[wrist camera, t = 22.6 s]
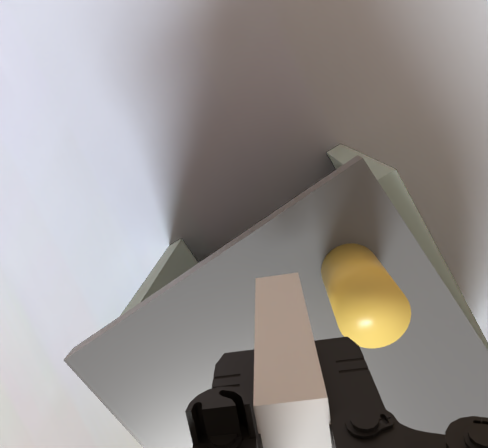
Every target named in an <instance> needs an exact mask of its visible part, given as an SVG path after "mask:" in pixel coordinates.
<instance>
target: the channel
mask: <svg viewBox="0 0 488 448" xmlns="http://www.w3.org/2000/svg"><path fill="white" fill-rule="evenodd" d="M326 153H327V154H328V156H329V158H330V160H331V161H332V163H333V165H334V167H335V169H338V168H339V167H341V166H342V165H344V164H345V163H346V162H348V161H349V160H351V159H352V158H354V157H355V156H357V155H358V156H360V157H362V158H363V159H364V160H365V162H366V164H367V165H368V167H369V168H370V170H371V171H372V173H373V174H374V176H375V177H376V179H377V181H378V182H379V184H380V185H381V187H382V188H383V190H384V191H385V193H386V194H387V196H388V197H389V199H390V201H391V202H392V204H393V205H394V207H395V208H396V210H397V211H398V213H399V214H400V216H401V217H402V219H403V221H404V222H405V224H406V225H407V227H408V228H409V230H410V231H411V233H412V234H413V236H414V238H415V239H416V241H417V242H418V244H419V245H420V247H421V248H422V250H423V251H424V253H425V254H426V256H427V258H428V259H429V261H430V262H431V264H432V265H433V267H434V268H435V270H436V271H437V273H438V274H439V276H440V278H441V279H442V281H443V282H444V284H445V285H446V287H447V288H448V290H449V291H450V293H451V295H452V296H453V298H454V299H455V301H456V302H457V304H458V305H459V307H460V308H461V310H462V311H463V313H464V315H465V316H466V318H467V319H468V321H469V322H470V324H471V325H472V327H473V328H474V330H475V331H476V333H477V335H478V336H479V338H480V339H481V341H482V342H483V344H484V345H485V347H486V348H487V350H488V342H487V340H486V338H485V337H484V335H483V333H482V331H481V329H480V327H479V325H478V323H477V321H476V320H475V318H474V316H473V314H472V312H471V310H470V308H469V306H468V304H467V303H466V301H465V299H464V297H463V295H462V293H461V291H460V289H459V287H458V286H457V284H456V282H455V280H454V278H453V276H452V274H451V272H450V270H449V269H448V267H447V265H446V263H445V261H444V259H443V257H442V255H441V253H440V252H439V250H438V248H437V246H436V244H435V242H434V240H433V238H432V236H431V234H430V233H429V231H428V229H427V227H426V225H425V223H424V221H423V219H422V217H421V216H420V214H419V212H418V210H417V208H416V206H415V204H414V202H413V200H412V199H411V197H410V195H409V193H408V191H407V189H406V187H405V185H404V183H403V182H402V180H401V178H400V176H399V174H398V172H397V170H396V169H394V168H392V167H390V166H388V165H386V164H384V163H381V162H379V161H377V160H375V159H373V158H371V157H368V156H366V155H364V154H362V153H360V152H358V151H355V150H353V149H351V148H349V147H347V146H345V145H342V144H340V145H338V146H336V147H335V148H333V149H331V150H329V151H328V152H326ZM196 264H198V262H197V261H196V259H195V258H194V256H193V255H192V253H191V252H190V250H189V249H188V247H187V246H186V244H185V243H184V241H183V240H182V238H181V239H180V240H178V241H176V242H175V243H173V244H171V245H169V247H168V248H167V249H166V251H165V252H164V254H163V255H162V257H161V258H160V260H159V261H158V262H157V264H156V265H155V267H154V268H153V270H152V271H151V272H150V274H149V275H148V277H147V278H146V280H145V281H144V282H143V284H142V285H141V287H140V288H139V290H138V291H137V292H136V294H135V295H134V297H133V298H132V300H131V301H130V302H129V304H128V305H127V307H126V308H125V310H124V311H123V312H122V314H121V315H123V314H124V313H126V312H127V311H129V310H130V309H132V308H133V307H135V306H136V305H137V304H139V303H140V302H142V301H143V300H145V299H146V298H148V297H149V296H151V295H152V294H154V293H155V292H157V291H158V290H160V289H161V288H163V287H164V286H165V285H167V284H168V283H170V282H171V281H173V280H174V279H176V278H177V277H179V276H180V275H182V274H183V273H185V272H186V271H188V270H189V269H190V268H192V267H193V266H195V265H196ZM121 315H120V316H121Z"/></svg>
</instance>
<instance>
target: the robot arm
mask: <svg viewBox="0 0 488 448" xmlns="http://www.w3.org/2000/svg"><path fill="white" fill-rule="evenodd" d="M185 413H186V417H187V421H188V426H189V430H190V434H191V438H192V443H193V448H488V418H486V417H478V416H469V417H462V418H459V419H457V420H455V421H453V422H451V423H450V424H449V426H448V428H447V429H446V431H445V435H444V434H437V433H430V432H424V431H419V430H415V429H412V428H409V427H407V426H404V425H403V424H401V423H399V422H398V421H397V419H396V418H395V416H394V415H393V414H392V413H391V412H389V411H388V410H386V408H385V406H384V404H383V401H382V399H381V397H380V394H379V392H378V390H377V387H376V385H375V382H374V380H373V378H372V375H371V373H370V370H369V369H368V366H367V363H366V361H365V360H364V356H363V354H362V351H361V349H360V347H359V345H358V344H356V343H355V342H354V341H353V340H351V339H350V338H349V337H339V338H331V339H323V340H315V341H314V338H313V334H312V329H311V325H310V321H309V317H308V312H307V308H306V304H305V300H304V296H303V291H302V287H301V283H300V279H299V274H298V273H291V274H283V275H276V276H269V277H261V278H256V284H255V340H254V349H253V350H245V351H237V352H229V353H224V354H223V355H222V357H221V358H220V359H219V361H218V362H217V363H216V364H215V370H214V376H213V382H212V389H208V390H206V391H204V392H202V393H201V394H199V395H197V396H196V397H195V398H194V399H193V400H192V401H191V402H190V403H189V405H188V407H187V409H186V411H185Z"/></svg>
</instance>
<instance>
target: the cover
mask: <svg viewBox="0 0 488 448" xmlns="http://www.w3.org/2000/svg"><path fill="white" fill-rule="evenodd" d="M291 273H298V274H299V279H300V283H301V287H302V291H303V296H304V300H305V304H306V308H307V312H308V317H309V321H310V325H311V329H312V334H313V338H314V341H315V340H323V339H331V338H339V337H349V338H350V339H351V340H353V341H354V342H355V343H356V344H358V345H359V347H360V349H361V351H362V354H363V356H364V360H365V361H366V363H367V366H368V369H369V370H370V373H371V375H372V378H373V380H374V382H375V385H376V387H377V390H378V392H379V394H380V397H381V399H382V401H383V404H384V406H385V408H386V410H388V411H389V412H391V413H392V414H393V415H394V416H395V418H396V419H397V421H398V422H399V423H401V424H403V425H404V426H407V427H409V428H412V429H415V430H419V431H424V432H430V433H437V434H444V435H445V431H446V429H447V428H448V426H449V424H450V423H451V422H453V421H455V420H457V419H459V418H462V417H469V416H478V417H486V418H488V350H487V348H486V347H485V345H484V344H483V342H482V341H481V339H480V338H479V336H478V335H477V333H476V331H475V330H474V328H473V327H472V325H471V324H470V322H469V321H468V319H467V318H466V316H465V315H464V313H463V311H462V310H461V308H460V307H459V305H458V304H457V302H456V301H455V299H454V298H453V296H452V295H451V293H450V291H449V290H448V288H447V287H446V285H445V284H444V282H443V281H442V279H441V278H440V276H439V274H438V273H437V271H436V270H435V268H434V267H433V265H432V264H431V262H430V261H429V259H428V258H427V256H426V254H425V253H424V251H423V250H422V248H421V247H420V245H419V244H418V242H417V241H416V239H415V238H414V236H413V234H412V233H411V231H410V230H409V228H408V227H407V225H406V224H405V222H404V221H403V219H402V217H401V216H400V214H399V213H398V211H397V210H396V208H395V207H394V205H393V204H392V202H391V201H390V199H389V197H388V196H387V194H386V193H385V191H384V190H383V188H382V187H381V185H380V184H379V182H378V181H377V179H376V177H375V176H374V174H373V173H372V171H371V170H370V168H369V167H368V165H367V164H366V162H365V160H364V159H363V158H362V157H360V156H358V155H357V156H355V157H354V158H352V159H351V160H349V161H348V162H346V163H345V164H344V165H342V166H341V167H339V168H338V169H336V170H335V171H333V172H332V173H330V174H329V175H327V176H326V177H324V178H323V179H321V180H320V181H319V182H317V183H316V184H314V185H313V186H311V187H310V188H308V189H307V190H305V191H304V192H302V193H301V194H299V195H298V196H296V197H295V198H293V199H292V200H291V201H289V202H288V203H286V204H285V205H283V206H282V207H280V208H279V209H277V210H276V211H274V212H273V213H271V214H270V215H268V216H267V217H266V218H264V219H263V220H261V221H260V222H258V223H257V224H255V225H254V226H252V227H251V228H249V229H248V230H246V231H245V232H243V233H242V234H241V235H239V236H238V237H236V238H235V239H233V240H232V241H230V242H229V243H227V244H226V245H224V246H223V247H221V248H220V249H218V250H217V251H215V252H214V253H213V254H211V255H210V256H208V257H207V258H205V259H204V260H202V261H201V262H199V263H198V264H196V265H195V266H193V267H192V268H190V269H189V270H188V271H186V272H185V273H183V274H182V275H180V276H179V277H177V278H176V279H174V280H173V281H171V282H170V283H168V284H167V285H165V286H164V287H163V288H161V289H160V290H158V291H157V292H155V293H154V294H152V295H151V296H149V297H148V298H146V299H145V300H143V301H142V302H140V303H139V304H137V305H136V306H135V307H133V308H132V309H130V310H129V311H127V312H126V313H124V314H123V315H121V316H120V317H118V318H117V319H115V320H114V321H112V322H111V323H110V324H108V325H107V326H105V327H104V328H102V329H101V330H99V331H98V332H96V333H95V334H93V335H92V336H90V337H89V338H87V339H86V340H85V341H83V342H82V343H80V344H79V345H77V346H76V347H74V348H73V349H72V350H71V351H70V353H69V354H68V355H67V356H66V358H65V359H64V361H65V362H66V363H67V365H68V366H69V367H70V368H71V369H72V370H73V371H74V372H75V373H76V374H77V376H78V377H79V378H80V379H81V380H82V381H83V382H84V383H85V384H86V385H87V386H88V388H89V389H90V390H91V391H92V392H93V393H94V394H95V395H96V396H97V397H98V399H99V400H100V401H101V402H102V403H103V404H104V405H105V406H106V407H107V408H108V410H109V411H110V412H111V413H112V414H113V415H114V416H115V417H116V418H117V419H118V420H119V422H120V423H121V424H122V425H123V426H124V427H125V428H126V429H127V430H128V431H129V433H130V434H131V435H132V436H133V437H134V438H135V439H136V440H137V441H138V442H139V443H140V445H141V446H142V447H143V448H193V443H192V438H191V434H190V430H189V426H188V421H187V417H186V413H185V411H186V409H187V407H188V405H189V403H190V402H191V401H192V400H193V399H194V398H195V397H196V396H197V395H199V394H201V393H202V392H204V391H206V390H208V389H212V382H213V376H214V370H215V364H216V363H217V362H218V361H219V359H220V358H221V357H222V355H223V354H224V353H229V352H237V351H245V350H253V349H254V340H255V284H256V278H261V277H269V276H276V275H283V274H291Z"/></svg>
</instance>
